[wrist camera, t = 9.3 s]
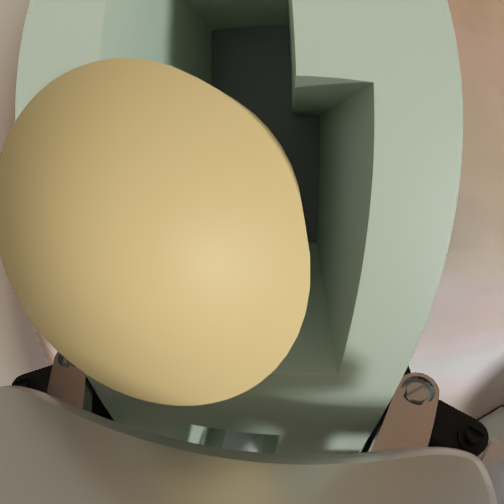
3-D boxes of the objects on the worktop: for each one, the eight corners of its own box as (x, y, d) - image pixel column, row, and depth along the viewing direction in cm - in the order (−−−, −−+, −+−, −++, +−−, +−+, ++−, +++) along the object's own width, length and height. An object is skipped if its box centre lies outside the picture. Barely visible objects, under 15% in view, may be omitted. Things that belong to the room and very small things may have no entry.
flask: (447, 449, 18) (461, 519, 9) (473, 416, 15) (498, 499, 6) (493, 430, 17) (512, 492, 8) (521, 394, 14) (550, 463, 5)
